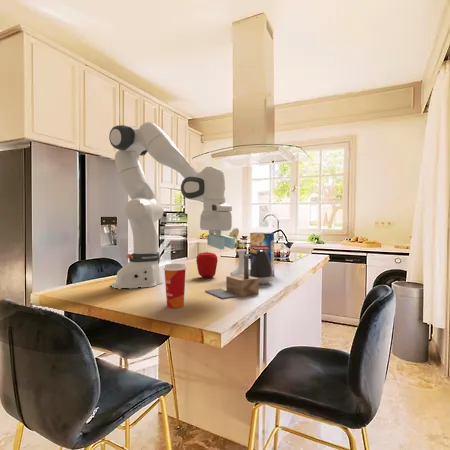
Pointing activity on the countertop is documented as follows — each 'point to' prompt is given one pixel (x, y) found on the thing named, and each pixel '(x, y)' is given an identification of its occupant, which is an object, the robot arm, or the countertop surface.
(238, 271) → the flower in vase
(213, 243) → the c link
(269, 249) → the beverage box
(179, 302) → the paper cup
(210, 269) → the apple
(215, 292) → the mat
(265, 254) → the pump dispenser
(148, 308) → the countertop surface
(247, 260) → the stand
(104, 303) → the countertop surface
